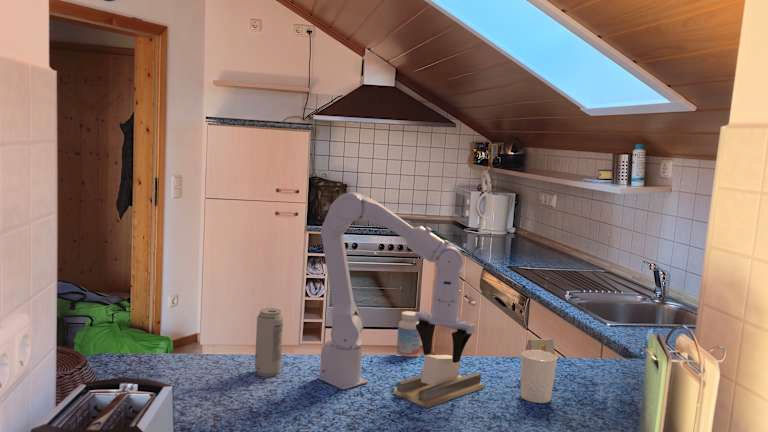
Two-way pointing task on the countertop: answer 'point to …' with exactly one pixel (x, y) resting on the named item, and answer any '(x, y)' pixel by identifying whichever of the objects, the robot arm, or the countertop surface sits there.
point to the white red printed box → (541, 345)
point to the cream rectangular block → (439, 369)
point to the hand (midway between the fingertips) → (441, 357)
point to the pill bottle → (408, 335)
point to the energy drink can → (268, 342)
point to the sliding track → (437, 389)
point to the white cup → (537, 375)
